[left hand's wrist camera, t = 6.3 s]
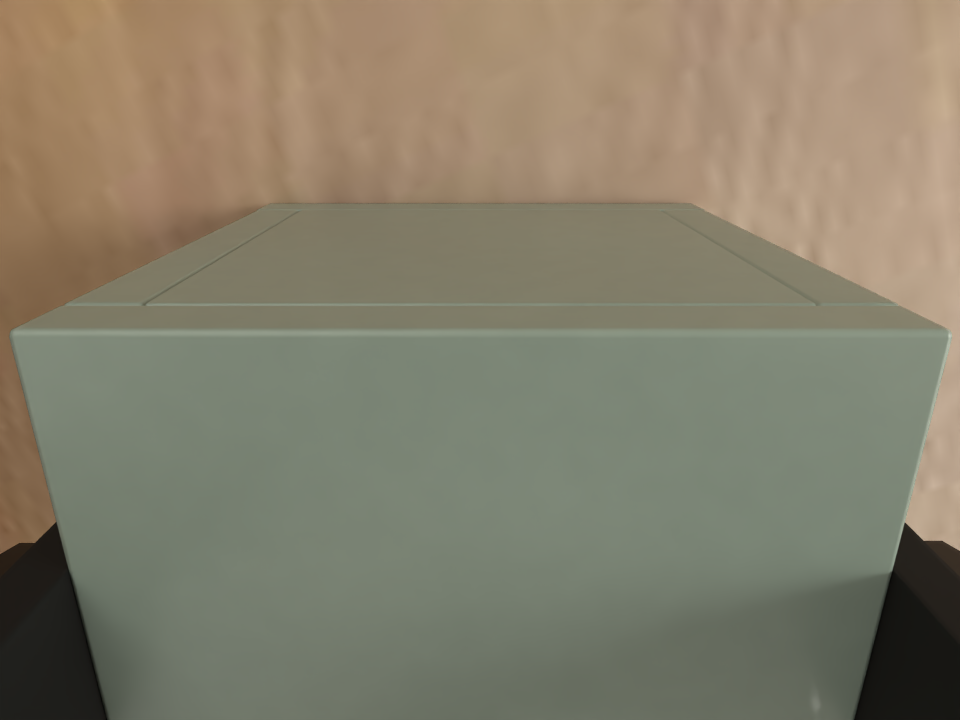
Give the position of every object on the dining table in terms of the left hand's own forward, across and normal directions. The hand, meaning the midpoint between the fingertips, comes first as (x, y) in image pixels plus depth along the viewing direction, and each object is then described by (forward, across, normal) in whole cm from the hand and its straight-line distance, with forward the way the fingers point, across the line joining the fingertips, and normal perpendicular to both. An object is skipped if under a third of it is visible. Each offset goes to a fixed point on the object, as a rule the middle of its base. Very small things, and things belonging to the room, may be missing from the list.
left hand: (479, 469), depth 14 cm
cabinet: (+5, 0, -6) cm, 8 cm away
